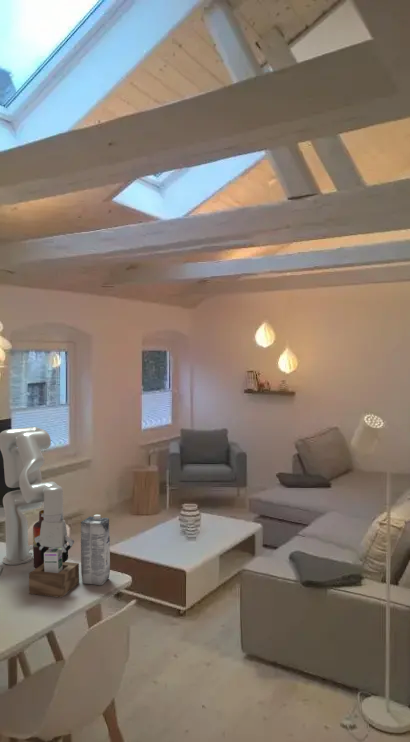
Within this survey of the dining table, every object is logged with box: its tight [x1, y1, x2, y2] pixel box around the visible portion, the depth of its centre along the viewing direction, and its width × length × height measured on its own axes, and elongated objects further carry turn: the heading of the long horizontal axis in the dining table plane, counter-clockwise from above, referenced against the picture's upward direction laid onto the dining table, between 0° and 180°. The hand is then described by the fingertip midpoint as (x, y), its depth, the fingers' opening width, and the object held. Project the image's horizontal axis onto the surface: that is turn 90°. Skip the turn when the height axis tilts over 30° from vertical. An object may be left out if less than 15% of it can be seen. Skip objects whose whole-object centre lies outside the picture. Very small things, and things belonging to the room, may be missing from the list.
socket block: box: [28, 561, 80, 598], centre depth 219 cm, size 14×14×8 cm
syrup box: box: [44, 548, 63, 573], centre depth 219 cm, size 6×6×14 cm
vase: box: [32, 509, 53, 570], centre depth 235 cm, size 11×11×26 cm
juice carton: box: [80, 514, 111, 586], centre depth 225 cm, size 9×10×27 cm
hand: (54, 559), depth 218 cm, fingers open, 9 cm apart
